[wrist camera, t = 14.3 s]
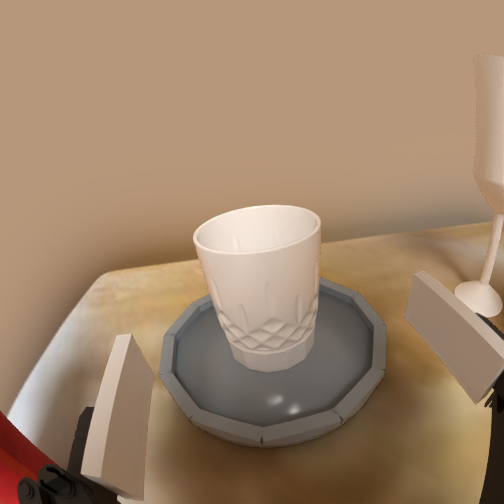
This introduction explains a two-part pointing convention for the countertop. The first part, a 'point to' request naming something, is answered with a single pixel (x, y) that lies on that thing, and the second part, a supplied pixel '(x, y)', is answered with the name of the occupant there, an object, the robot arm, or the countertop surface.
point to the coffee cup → (17, 460)
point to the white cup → (264, 281)
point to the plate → (276, 374)
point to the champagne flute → (488, 175)
